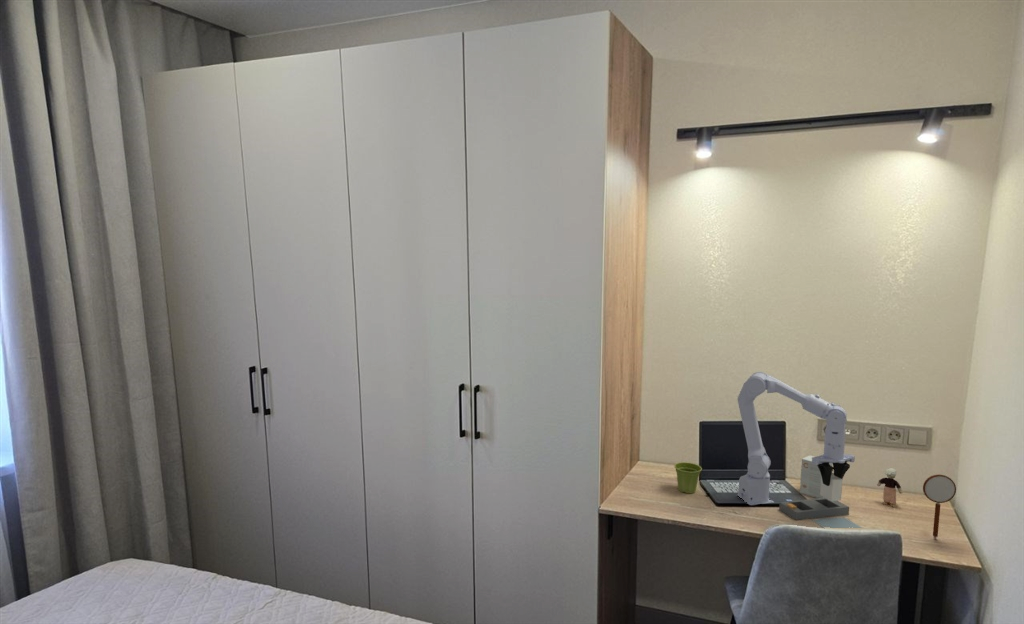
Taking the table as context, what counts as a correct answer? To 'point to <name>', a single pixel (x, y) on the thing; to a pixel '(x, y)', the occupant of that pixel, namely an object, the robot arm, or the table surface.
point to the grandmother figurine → (890, 487)
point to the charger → (832, 488)
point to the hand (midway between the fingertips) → (831, 484)
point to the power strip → (813, 508)
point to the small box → (810, 478)
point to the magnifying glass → (939, 494)
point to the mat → (836, 523)
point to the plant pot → (687, 476)
